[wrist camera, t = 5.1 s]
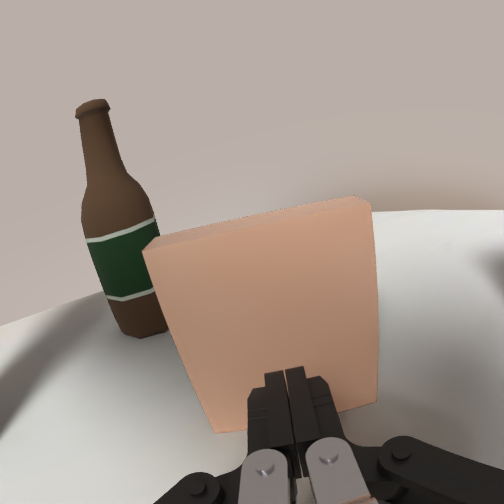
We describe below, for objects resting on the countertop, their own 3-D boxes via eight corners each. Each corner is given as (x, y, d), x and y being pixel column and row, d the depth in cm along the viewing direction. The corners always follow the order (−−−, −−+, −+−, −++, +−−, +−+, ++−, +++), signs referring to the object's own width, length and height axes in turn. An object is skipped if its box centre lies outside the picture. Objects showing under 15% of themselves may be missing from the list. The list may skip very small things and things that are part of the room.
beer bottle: (114, 323, 34) (53, 123, 27) (169, 297, 38) (117, 106, 31) (132, 349, 28) (57, 100, 20) (198, 316, 32) (137, 83, 25)
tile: (215, 433, 17) (141, 251, 13) (217, 407, 19) (155, 236, 15) (376, 401, 16) (370, 202, 13) (365, 378, 19) (352, 194, 15)
